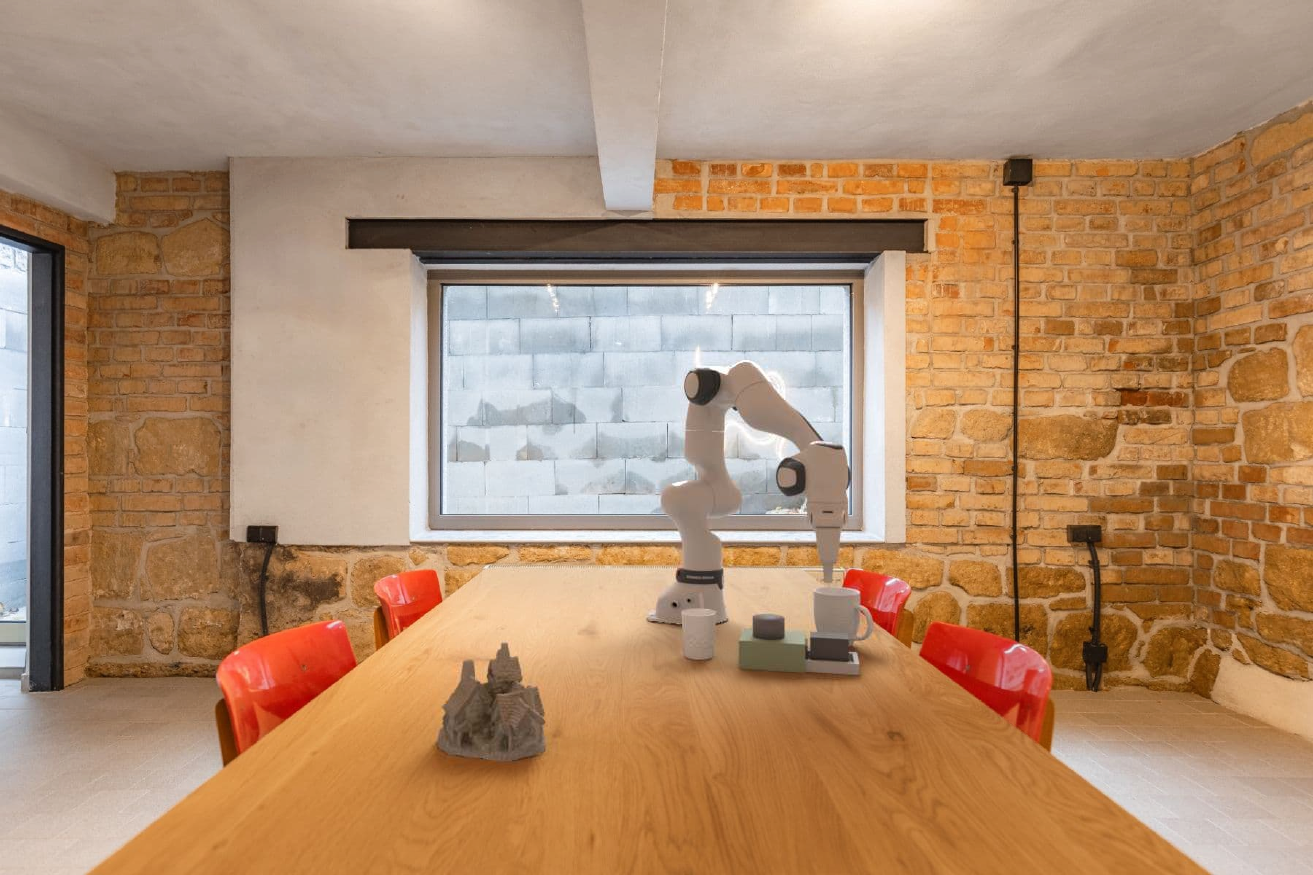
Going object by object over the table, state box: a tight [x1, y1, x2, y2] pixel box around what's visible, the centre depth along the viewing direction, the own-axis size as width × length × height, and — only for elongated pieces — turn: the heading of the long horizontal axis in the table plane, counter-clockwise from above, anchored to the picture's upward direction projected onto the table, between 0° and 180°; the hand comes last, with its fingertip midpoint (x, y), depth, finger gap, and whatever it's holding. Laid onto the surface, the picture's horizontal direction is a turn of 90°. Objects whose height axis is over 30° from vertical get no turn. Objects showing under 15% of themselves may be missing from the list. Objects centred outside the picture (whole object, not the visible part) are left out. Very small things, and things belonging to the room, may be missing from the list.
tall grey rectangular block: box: [809, 631, 850, 662], centre depth 150 cm, size 5×8×6 cm, turn 77°
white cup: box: [681, 608, 717, 661], centre depth 158 cm, size 8×8×10 cm
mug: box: [813, 586, 874, 648], centre depth 166 cm, size 15×11×13 cm
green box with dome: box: [738, 613, 860, 676], centre depth 151 cm, size 25×11×10 cm, turn 77°
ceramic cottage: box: [436, 642, 547, 762], centre depth 110 cm, size 16×16×15 cm
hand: (827, 578), depth 151 cm, fingers open, 8 cm apart
